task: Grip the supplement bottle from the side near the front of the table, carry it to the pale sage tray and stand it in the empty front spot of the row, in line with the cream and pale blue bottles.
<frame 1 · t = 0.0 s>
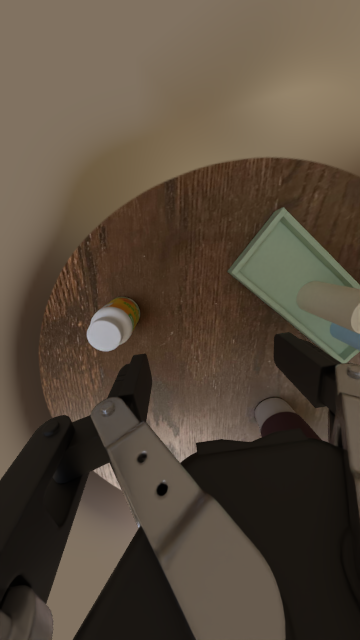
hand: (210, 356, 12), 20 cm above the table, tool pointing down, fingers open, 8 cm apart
tray: (308, 295, 31), on the table
pale blue bottle: (344, 326, 33), point 1 cm above the table, touching tray
cream bottle: (311, 296, 31), point 1 cm above the table, touching tray
supplement bottle: (124, 311, 31), on the table
coffee cup: (270, 409, 39), on the table
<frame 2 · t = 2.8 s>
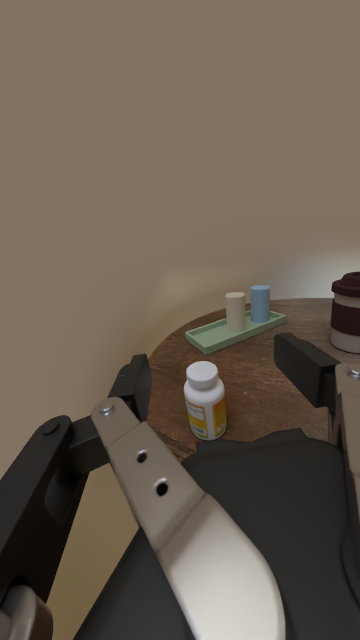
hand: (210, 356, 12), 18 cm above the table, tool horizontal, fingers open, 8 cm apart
tray: (236, 330, 53), on the table
pale blue bottle: (259, 319, 56), point 1 cm above the table, touching tray
cream bottle: (236, 328, 53), point 1 cm above the table, touching tray
supplement bottle: (208, 424, 27), on the table
coffee cup: (351, 346, 40), on the table
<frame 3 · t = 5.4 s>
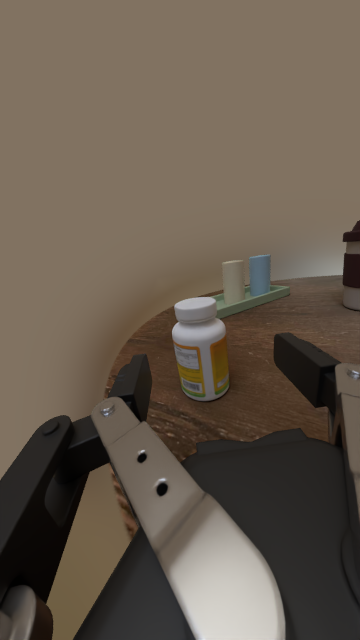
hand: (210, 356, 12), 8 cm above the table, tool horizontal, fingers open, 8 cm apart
tray: (234, 304, 48), on the table
pale blue bottle: (259, 294, 51), point 1 cm above the table, touching tray
cream bottle: (234, 302, 47), point 1 cm above the table, touching tray
supplement bottle: (205, 386, 21), on the table
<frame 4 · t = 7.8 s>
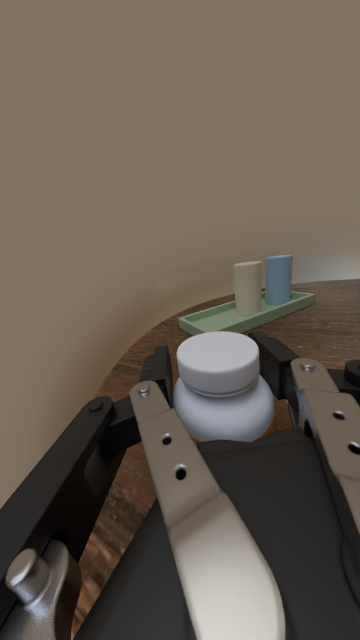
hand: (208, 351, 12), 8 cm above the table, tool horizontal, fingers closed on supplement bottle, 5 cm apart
tray: (248, 315, 39), on the table
pale blue bottle: (277, 302, 42), point 1 cm above the table, touching tray
cream bottle: (248, 312, 39), point 1 cm above the table, touching tray
supplement bottle: (227, 476, 13), on the table, touching gripper
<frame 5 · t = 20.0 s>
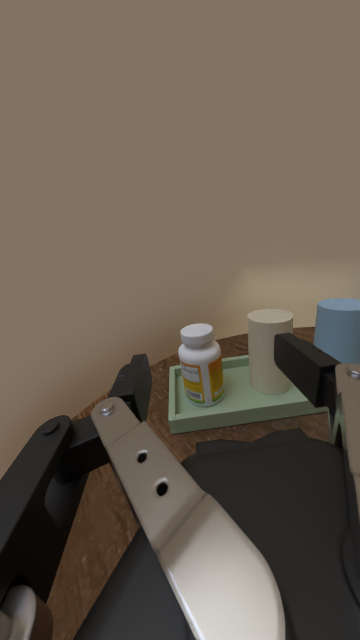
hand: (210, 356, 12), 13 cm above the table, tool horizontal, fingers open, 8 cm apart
tray: (268, 386, 26), on the table
pale blue bottle: (333, 373, 26), point 1 cm above the table, touching tray
cream bottle: (268, 382, 26), point 1 cm above the table, touching tray
supplement bottle: (205, 394, 26), resting on tray
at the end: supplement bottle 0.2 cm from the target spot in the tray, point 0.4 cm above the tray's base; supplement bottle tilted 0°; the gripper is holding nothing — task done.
